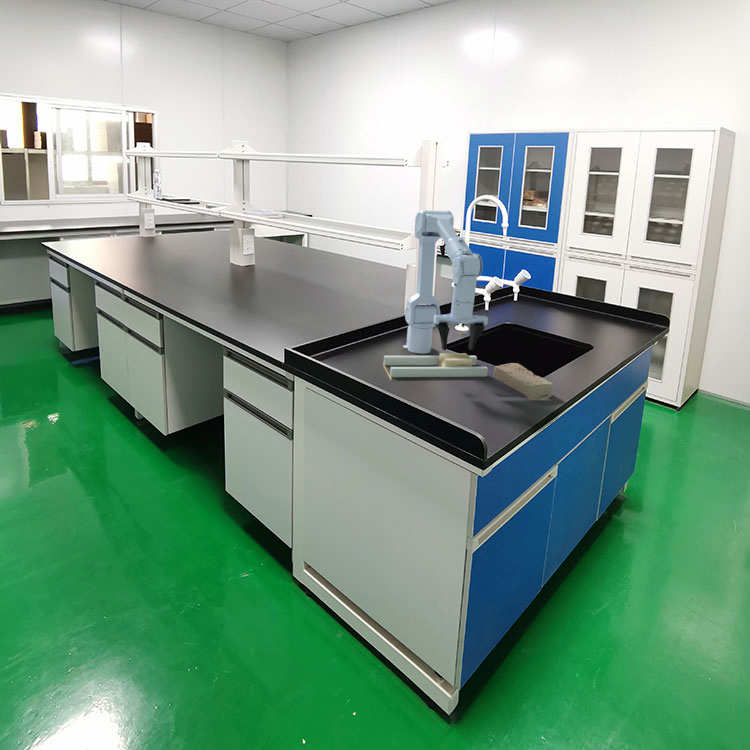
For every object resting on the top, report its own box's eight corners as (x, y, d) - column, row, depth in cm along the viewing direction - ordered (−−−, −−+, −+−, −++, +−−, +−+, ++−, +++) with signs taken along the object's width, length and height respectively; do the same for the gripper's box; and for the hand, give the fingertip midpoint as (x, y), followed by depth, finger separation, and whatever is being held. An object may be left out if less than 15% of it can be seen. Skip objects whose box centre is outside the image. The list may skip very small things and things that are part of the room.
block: (438, 366, 176) (439, 353, 175) (464, 366, 178) (465, 353, 176) (444, 373, 171) (445, 360, 169) (470, 373, 172) (472, 360, 171)
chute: (382, 365, 176) (383, 355, 175) (473, 365, 182) (474, 355, 180) (391, 380, 165) (391, 369, 164) (487, 379, 171) (488, 369, 169)
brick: (553, 398, 162) (556, 381, 160) (528, 401, 158) (531, 385, 156) (514, 377, 175) (516, 362, 174) (491, 380, 172) (493, 364, 170)
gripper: (440, 303, 153) (435, 353, 158) (494, 304, 156) (487, 354, 161) (433, 297, 160) (428, 345, 165) (485, 298, 163) (479, 345, 167)
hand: (457, 349), depth 163 cm, fingers open, 7 cm apart
